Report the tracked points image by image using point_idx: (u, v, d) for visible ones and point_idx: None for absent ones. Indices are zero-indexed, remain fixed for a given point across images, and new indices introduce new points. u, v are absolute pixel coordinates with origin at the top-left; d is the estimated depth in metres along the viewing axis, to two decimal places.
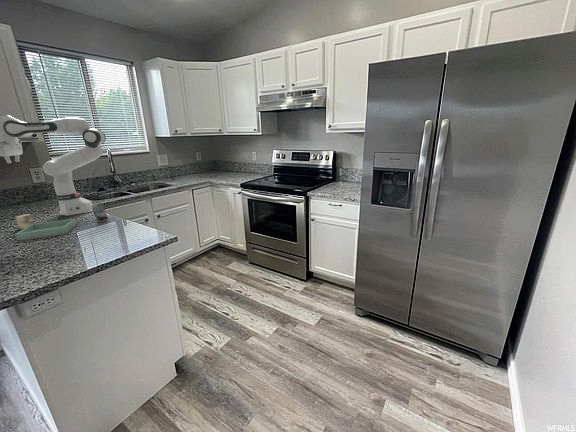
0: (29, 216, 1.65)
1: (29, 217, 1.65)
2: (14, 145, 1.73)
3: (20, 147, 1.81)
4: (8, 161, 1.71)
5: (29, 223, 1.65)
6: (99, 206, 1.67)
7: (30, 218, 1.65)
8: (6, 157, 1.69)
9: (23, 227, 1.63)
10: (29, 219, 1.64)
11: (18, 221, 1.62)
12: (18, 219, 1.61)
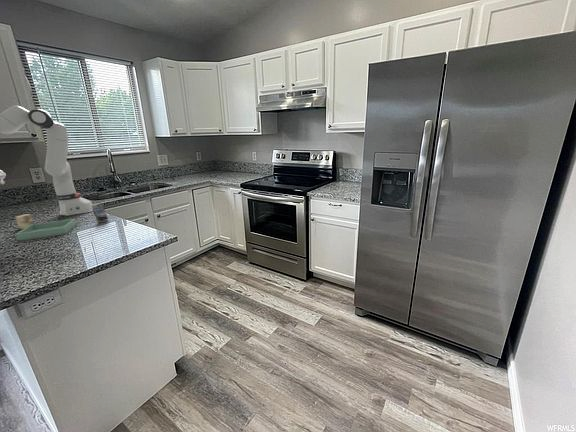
0: (29, 216, 1.65)
1: (29, 217, 1.65)
2: None
3: None
4: None
5: (29, 223, 1.65)
6: (99, 206, 1.67)
7: (30, 218, 1.65)
8: None
9: (23, 227, 1.63)
10: (29, 219, 1.64)
11: (18, 221, 1.62)
12: (18, 219, 1.61)
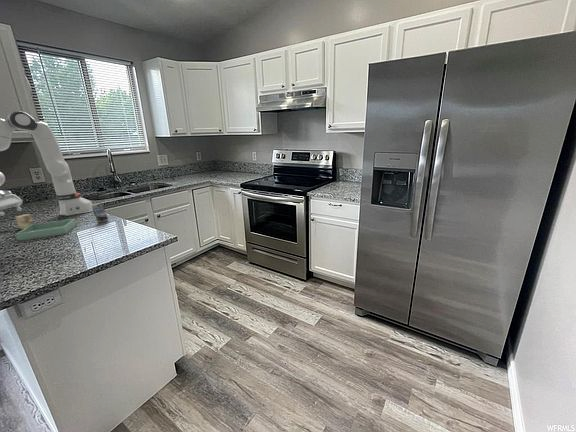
0: (29, 216, 1.65)
1: (29, 217, 1.65)
2: None
3: (14, 196, 1.69)
4: (0, 213, 1.58)
5: (29, 223, 1.65)
6: (99, 206, 1.67)
7: (30, 218, 1.65)
8: None
9: (23, 227, 1.63)
10: (29, 219, 1.64)
11: (18, 221, 1.62)
12: (18, 219, 1.61)
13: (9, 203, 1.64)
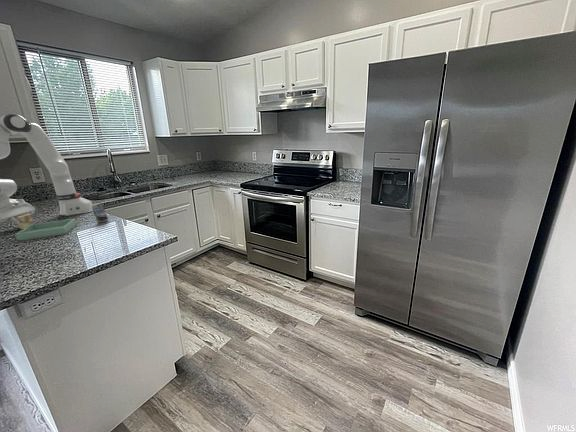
0: (29, 216, 1.65)
1: (29, 217, 1.65)
2: (10, 206, 1.61)
3: (27, 205, 1.70)
4: (17, 221, 1.60)
5: (29, 223, 1.65)
6: (99, 206, 1.67)
7: (30, 218, 1.65)
8: (11, 219, 1.59)
9: (23, 227, 1.63)
10: (29, 219, 1.64)
11: None
12: (18, 219, 1.61)
13: (23, 212, 1.65)
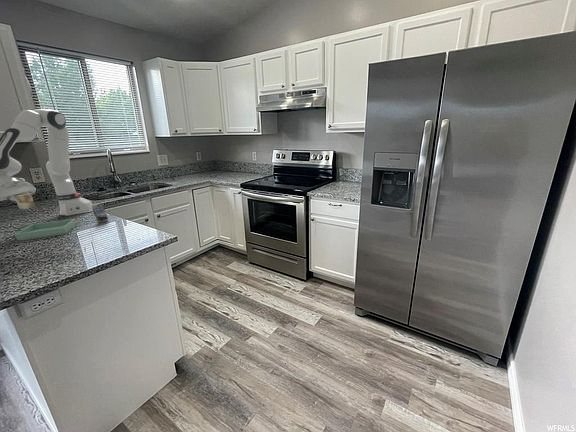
0: (29, 195, 1.56)
1: (29, 196, 1.56)
2: (9, 184, 1.52)
3: (27, 184, 1.61)
4: (16, 200, 1.52)
5: (29, 203, 1.56)
6: (99, 206, 1.67)
7: (30, 198, 1.56)
8: (10, 198, 1.50)
9: (23, 207, 1.54)
10: (29, 199, 1.56)
11: None
12: (17, 198, 1.53)
13: (22, 191, 1.56)
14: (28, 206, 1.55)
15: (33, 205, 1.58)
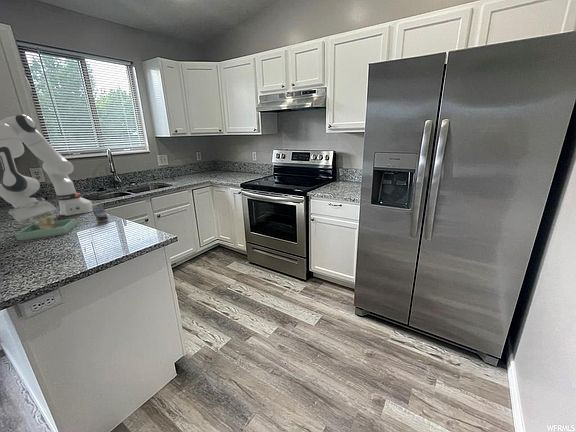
0: (51, 218, 1.54)
1: (51, 219, 1.54)
2: (30, 205, 1.50)
3: (47, 204, 1.59)
4: (35, 222, 1.48)
5: (51, 226, 1.54)
6: (99, 206, 1.67)
7: (52, 220, 1.55)
8: (29, 220, 1.47)
9: None
10: (50, 221, 1.54)
11: (39, 224, 1.52)
12: (40, 221, 1.51)
13: (43, 211, 1.54)
14: None
15: None
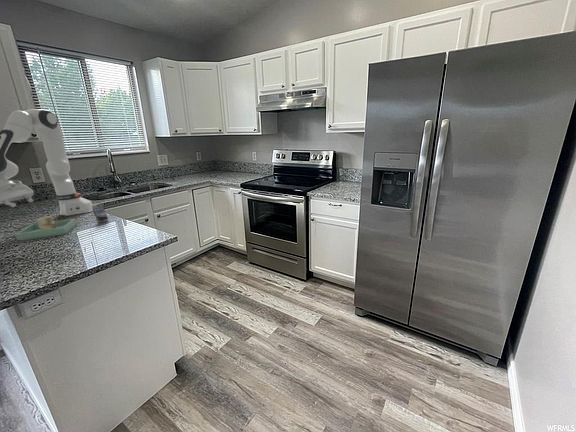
0: (51, 218, 1.54)
1: (51, 219, 1.54)
2: (6, 187, 1.49)
3: (24, 187, 1.58)
4: (11, 205, 1.47)
5: (51, 226, 1.54)
6: (99, 206, 1.67)
7: (52, 220, 1.55)
8: (5, 202, 1.46)
9: None
10: (50, 221, 1.54)
11: (39, 224, 1.52)
12: (40, 221, 1.51)
13: (20, 194, 1.53)
14: None
15: None
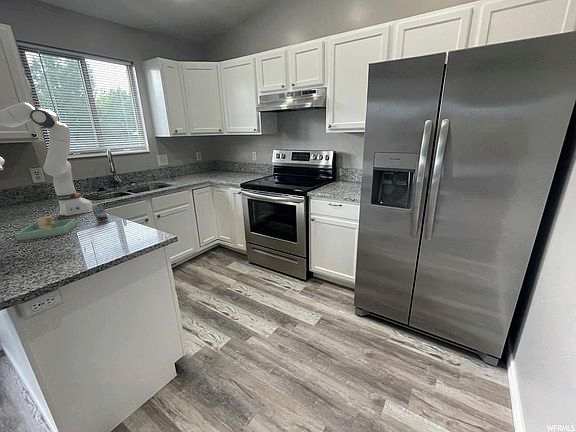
0: (51, 218, 1.54)
1: (51, 219, 1.54)
2: None
3: None
4: None
5: (51, 226, 1.54)
6: (99, 206, 1.67)
7: (52, 220, 1.55)
8: None
9: None
10: (50, 221, 1.54)
11: (39, 224, 1.52)
12: (40, 221, 1.51)
13: None
14: None
15: None
